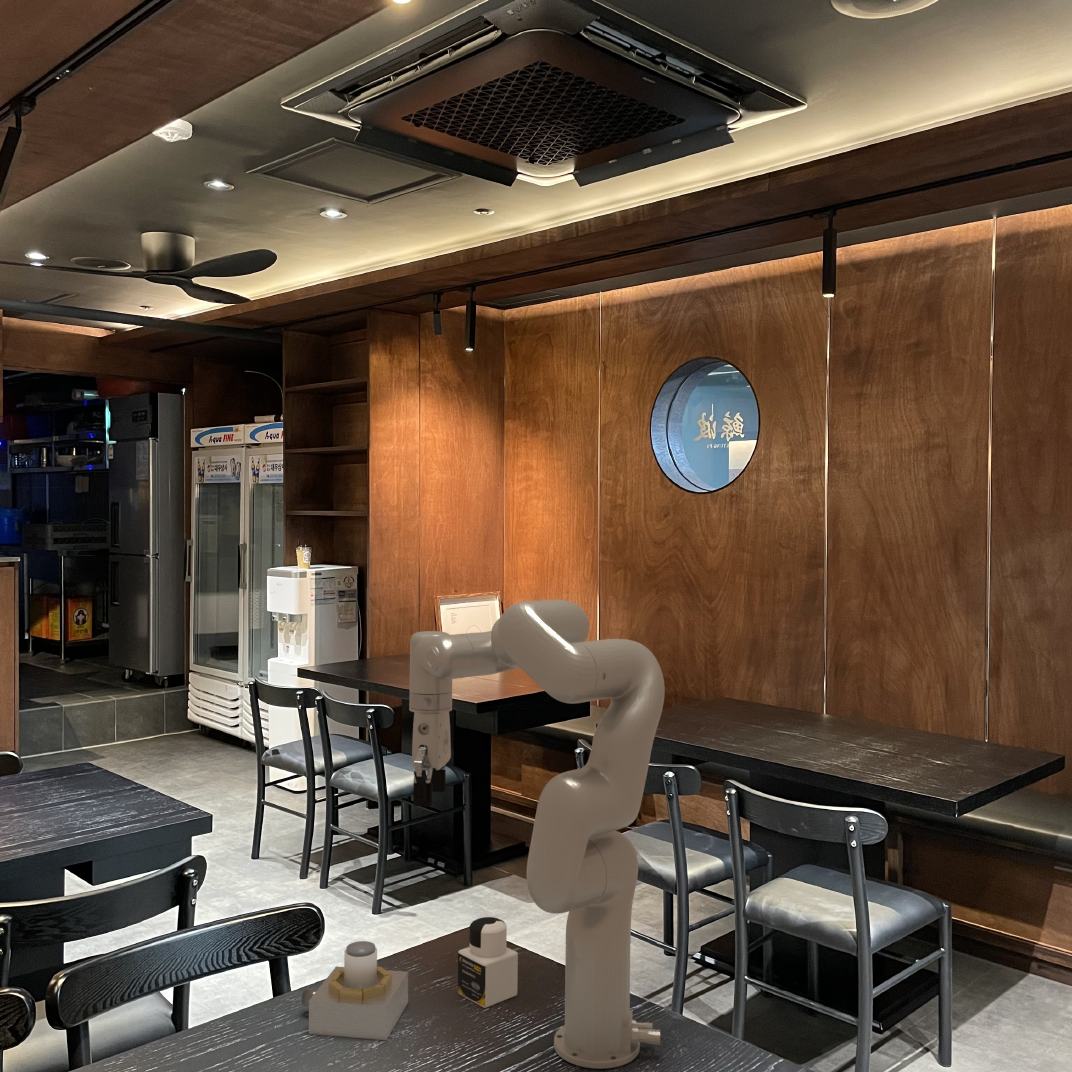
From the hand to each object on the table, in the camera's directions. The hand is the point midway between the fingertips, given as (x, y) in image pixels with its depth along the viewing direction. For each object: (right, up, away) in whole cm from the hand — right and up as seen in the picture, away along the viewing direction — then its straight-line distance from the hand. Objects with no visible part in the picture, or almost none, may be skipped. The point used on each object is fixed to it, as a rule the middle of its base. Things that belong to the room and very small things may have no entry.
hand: (429, 798), depth 178 cm
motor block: (-10, -28, -22) cm, 37 cm away
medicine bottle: (+11, -29, -14) cm, 34 cm away
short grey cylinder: (-8, -23, -22) cm, 33 cm away
